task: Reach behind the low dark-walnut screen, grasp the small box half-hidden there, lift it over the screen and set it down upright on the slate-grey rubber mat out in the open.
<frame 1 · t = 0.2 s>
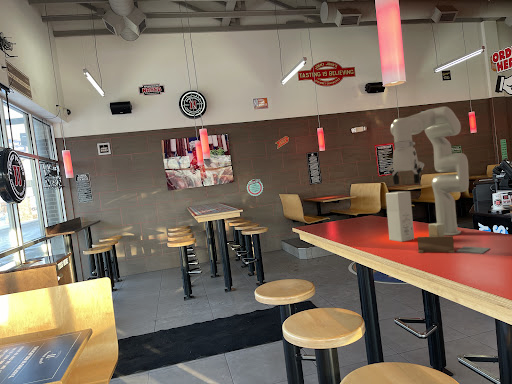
hand: (406, 183, 171), 30 cm above the table, fingers open, 9 cm apart
tall white carton: (401, 240, 198), on the table
box: (437, 248, 171), on the table
screen: (436, 251, 164), on the table
mat: (472, 250, 160), on the table
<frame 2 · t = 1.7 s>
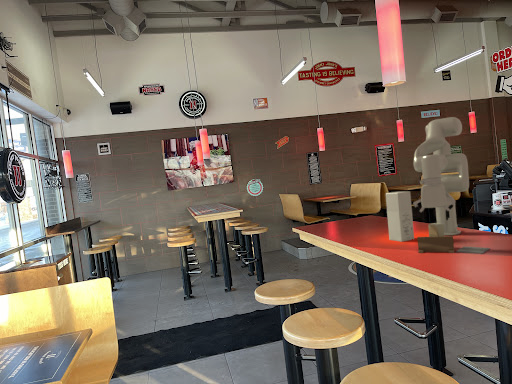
hand: (435, 220, 170), 13 cm above the table, fingers open, 9 cm apart
nothing on the table moved.
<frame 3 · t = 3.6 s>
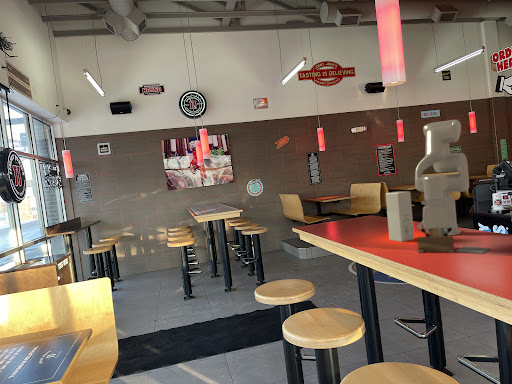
hand: (437, 242, 171), 3 cm above the table, fingers closed on box, 6 cm apart
box: (437, 248, 171), on the table, touching gripper
everything else where it was.
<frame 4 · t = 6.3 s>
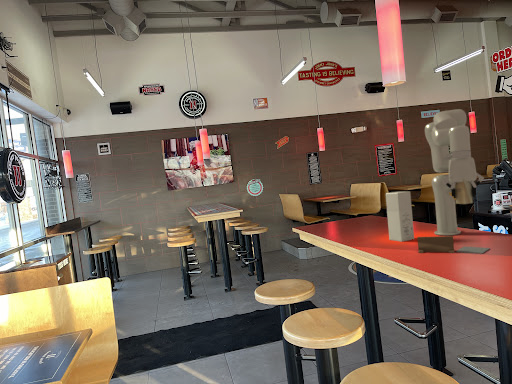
hand: (464, 197, 161), 23 cm above the table, fingers closed on box, 6 cm apart
box: (464, 203, 161), point 20 cm above the table, touching gripper
everything else where it was.
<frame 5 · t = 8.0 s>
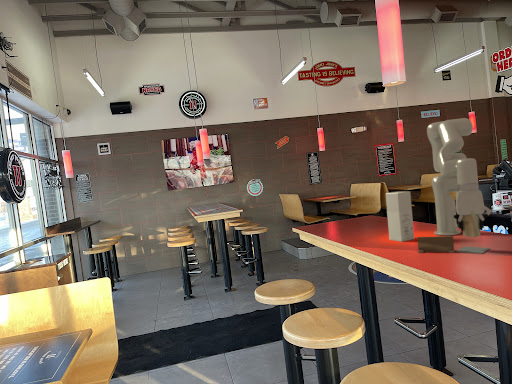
hand: (471, 229, 160), 9 cm above the table, fingers closed on box, 6 cm apart
box: (472, 236, 160), point 6 cm above the table, touching gripper
everything else where it was.
when the fingers open (4 cm above the table, at t = 9.5 s): box drops 1 cm, resting on mat.
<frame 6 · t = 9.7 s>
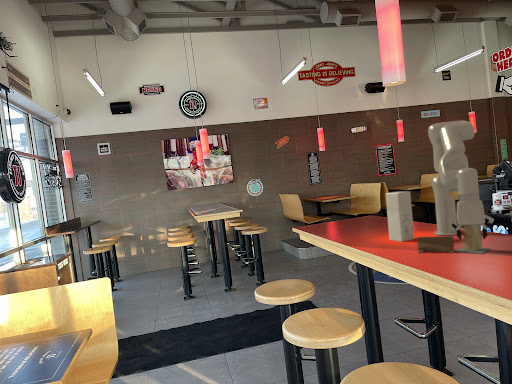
hand: (472, 238, 160), 5 cm above the table, fingers open, 8 cm apart
box: (473, 249, 160), resting on mat
everything else where it was.
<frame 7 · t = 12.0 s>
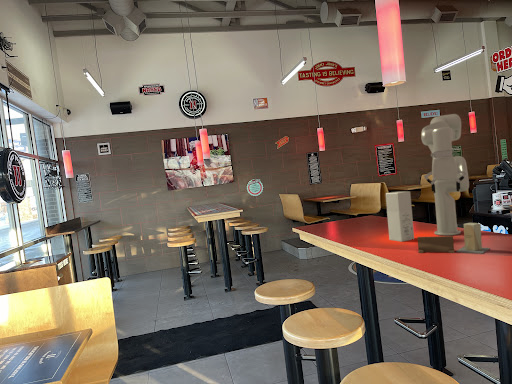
hand: (446, 192, 174), 25 cm above the table, fingers open, 9 cm apart
nothing on the table moved.
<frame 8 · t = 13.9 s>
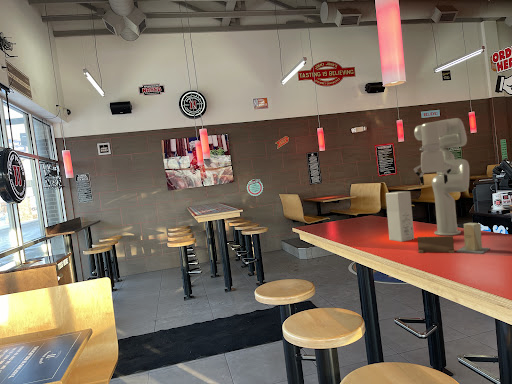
hand: (434, 184, 181), 28 cm above the table, fingers open, 9 cm apart
nothing on the table moved.
at the end: box inside the target area on the mat (0.3 cm from its centre), point 0.2 cm above the mat's base; box tilted 0°; the gripper is holding nothing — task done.
